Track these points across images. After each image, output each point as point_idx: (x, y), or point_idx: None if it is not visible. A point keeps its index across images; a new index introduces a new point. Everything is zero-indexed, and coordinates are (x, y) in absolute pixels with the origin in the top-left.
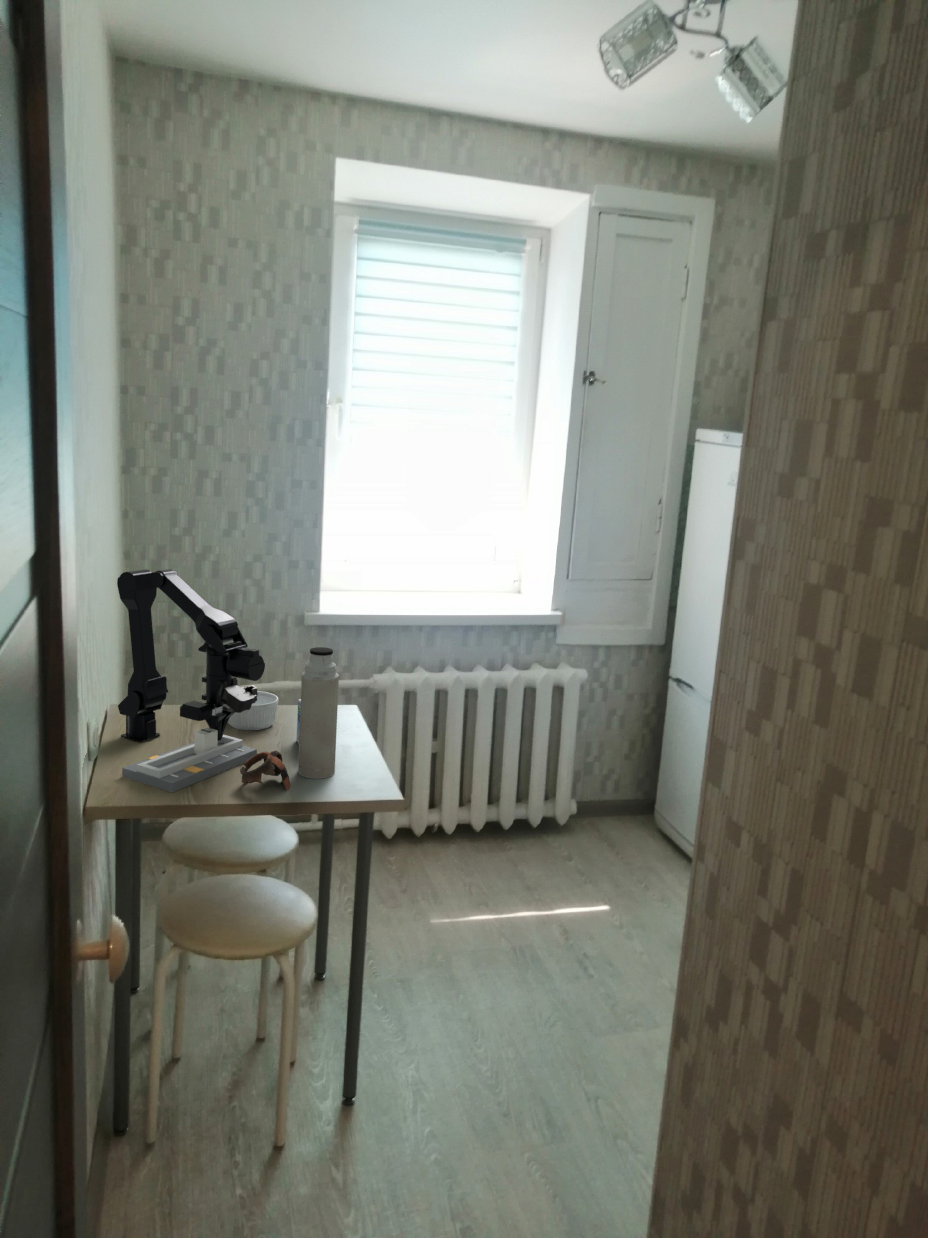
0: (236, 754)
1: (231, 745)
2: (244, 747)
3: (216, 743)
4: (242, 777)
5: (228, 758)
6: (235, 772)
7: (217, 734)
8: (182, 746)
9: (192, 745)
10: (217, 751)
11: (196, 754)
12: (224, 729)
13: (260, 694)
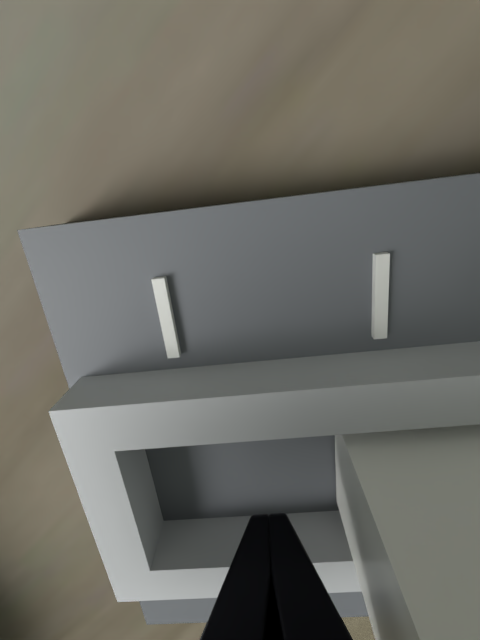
0: (263, 258)
1: (219, 390)
2: (86, 346)
3: (369, 473)
4: None
5: (401, 225)
6: (427, 74)
7: (397, 577)
8: None
9: None
10: (426, 369)
11: None
12: (216, 632)
13: None
